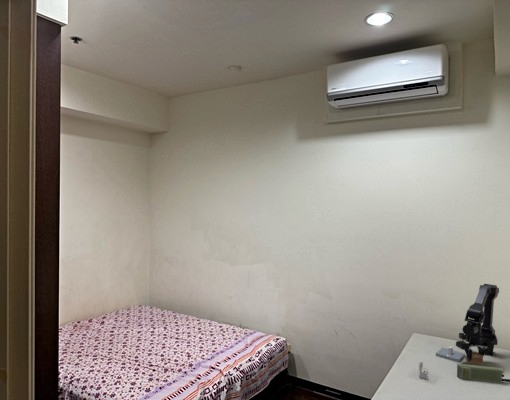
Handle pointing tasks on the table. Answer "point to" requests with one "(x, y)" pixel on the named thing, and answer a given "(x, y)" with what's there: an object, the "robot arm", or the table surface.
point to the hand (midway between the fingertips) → (474, 360)
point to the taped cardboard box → (475, 358)
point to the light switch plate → (450, 354)
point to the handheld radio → (480, 373)
